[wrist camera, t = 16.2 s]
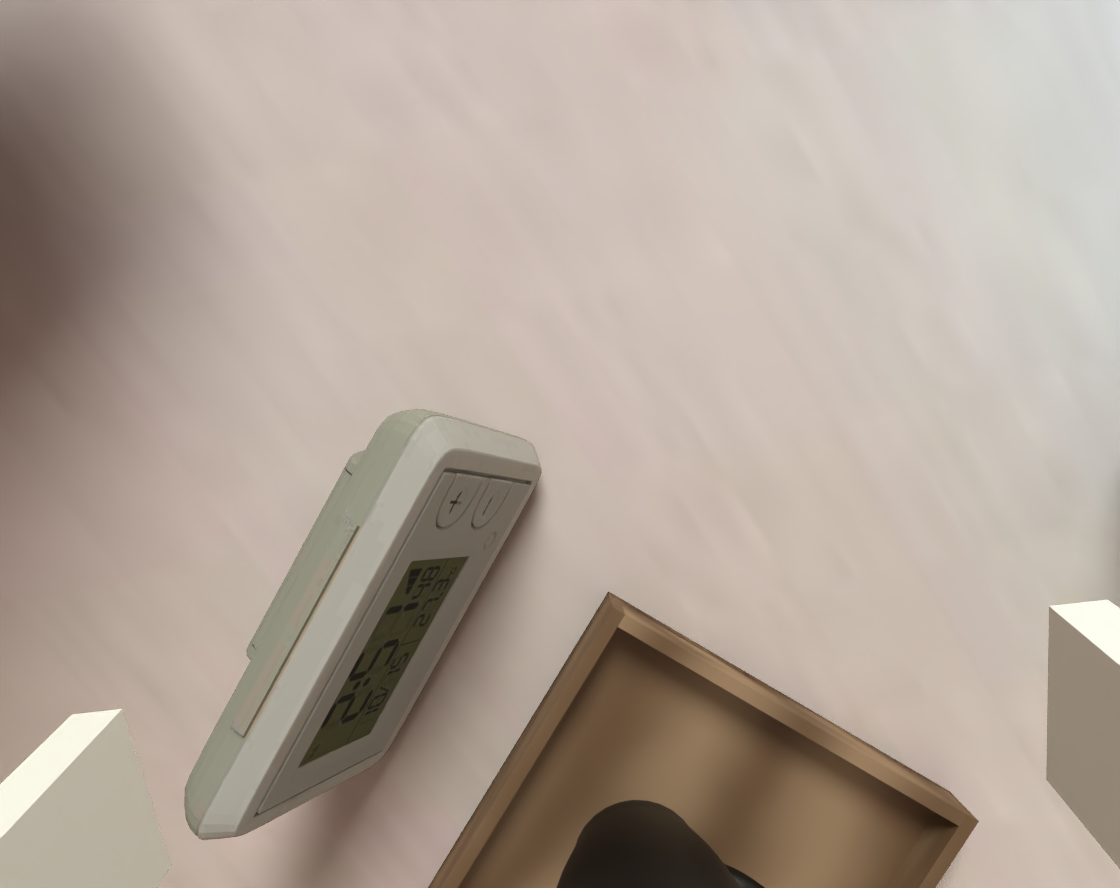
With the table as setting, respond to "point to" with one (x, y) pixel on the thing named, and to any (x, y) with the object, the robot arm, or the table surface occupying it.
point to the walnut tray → (701, 774)
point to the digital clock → (361, 617)
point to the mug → (645, 853)
